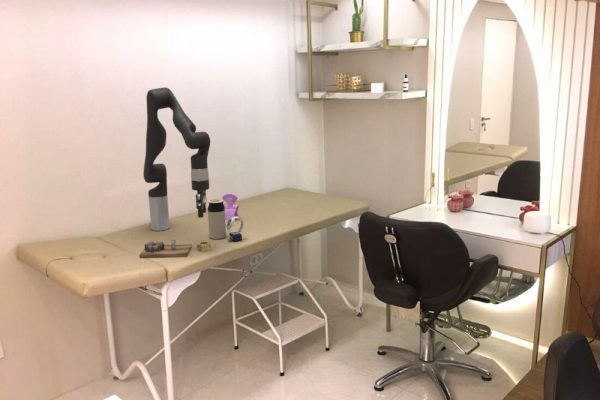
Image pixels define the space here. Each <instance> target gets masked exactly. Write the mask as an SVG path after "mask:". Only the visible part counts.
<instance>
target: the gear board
mask: <svg viewBox="0 0 600 400" xmlns="http://www.w3.org/2000/svg"><path fill="white" fill-rule="evenodd" d="M143 246H144V248H143V250H142V251H141V252H140V254H139V259H150V258H151V259H153V258H155V259H156V258H185V257H186V258H187V257H188V256H189V254H190V252H191V250H192V248H193V245H192V244H188V243H187V244H186V243H185V244H176V239H175V238H173V237H172V238H171V239H170V244H165V243H164V242H163V241H158V240H157V241H155V240H151V241H150V242H147V243H144V245H143Z"/></svg>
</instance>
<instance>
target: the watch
mask: <svg viewBox="0 0 600 400" xmlns="http://www.w3.org/2000/svg"><path fill="white" fill-rule="evenodd" d="M236 219H237V220H240V222H241V223H240V226H239V228H238V230H237V231H234V232H231V229H232V227H233V226H234V223H235V222H234V220H236ZM244 227H245V226H244V220H243V219H242V218H240V217H233V218H230V219H229V220H228V222H226V230H227V231H228V232H229V240H230V241H231V242H232V243H239V242H243V235H242V233H241V232H242V231H243V230H244V229H243V228H244Z"/></svg>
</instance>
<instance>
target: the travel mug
mask: <svg viewBox="0 0 600 400" xmlns="http://www.w3.org/2000/svg"><path fill="white" fill-rule="evenodd" d="M224 202H225V201H224V200H223V199H222V198H213V199H207V203H208V206H207V219H208V221H207V222H208V237H209V238H210V239H212V240H221V239H224V238H226V237H227V231H226V230H227V227H226V225H227V222H225V217H226V214H225V206H226V205H225V204H224Z"/></svg>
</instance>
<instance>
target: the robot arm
mask: <svg viewBox="0 0 600 400" xmlns="http://www.w3.org/2000/svg"><path fill="white" fill-rule="evenodd" d="M168 108H169V109H170V110H171V111H172V123H173V125H174V127H175V128H176V129H177V131H178V132H179V134H181V136H182V139H183V142H184V144H185V146H186V147H187V148H188V149H190V150H197V152H196V153H195V154H192V155H191V156H190V181H191V182H190V183H191V190H192V191H197V192H196V194H195V205H196V207H195V208H196V209H197V218H201V219H202V218H204V214H205V213H206V212H207V206H206V205H207V202H208V199H207V190H209V189H210V176H209V175H210V174H209V168H208V167H209V165H208V156H209V152H210V147H211V138H210V135H209V133H208V132H206V131H197V126H196V125H195V123H194V122H193V121H192V120H191V119H190V118H189V116H188V115H187V114H186V113H185V111H184V110H183V108H182V106H181V104H180V102H179V101H178V98H177V97H176V96H175V93H173V91H172V90H171V89H170V88H169V87H164V86H163V87H157V88H152V89H149V90H148V91H147V93H146V120H147V121H146V134H145V135H146V136H145V156H144V157H145V158H144V162H143V163H144V164H143V165H144V166H143V180H144V181H145V183H147V184H153V183H158V184H157V185H156V186H155V187H152V188H151V189H149V190H148V192H147V195H148V205H149V206H148V207H149V217H150V229H151V230H152V231H154V232H155V231H157V232H160V231H161V232H162V231H167V230H168V229H170V227H171V226H170V215H169V214H170V213H169V200H168V172H167V166H166V165H165V163H155V161H156V159H157V157H159V155H160V154H161V153H162V152H163V150H164V148H166V144H167V130H166V128H165V126H164V125H163V124H162V123H161V121H160V119H159V117H158V116H159V115H158V111H159V110H162V109H163V110H164V109H168Z"/></svg>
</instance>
